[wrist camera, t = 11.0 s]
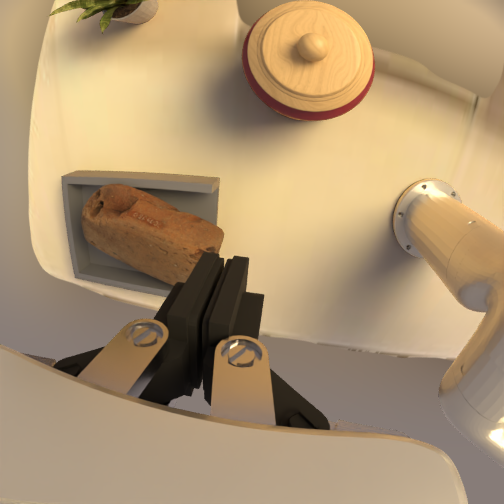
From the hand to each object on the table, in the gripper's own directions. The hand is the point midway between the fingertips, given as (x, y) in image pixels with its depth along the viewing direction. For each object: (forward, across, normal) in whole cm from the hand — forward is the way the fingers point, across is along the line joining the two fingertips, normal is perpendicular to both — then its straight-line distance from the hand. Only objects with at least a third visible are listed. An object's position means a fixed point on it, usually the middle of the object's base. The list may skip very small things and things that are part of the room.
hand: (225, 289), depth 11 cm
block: (+27, +6, +14) cm, 31 cm away
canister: (+32, -3, -13) cm, 35 cm away
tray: (+32, +19, +12) cm, 39 cm away
